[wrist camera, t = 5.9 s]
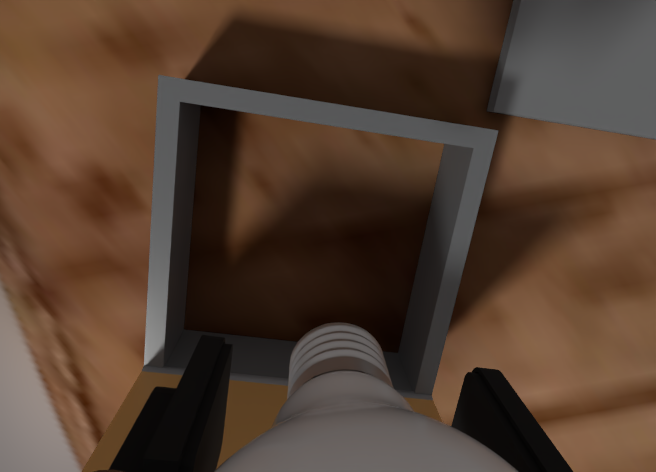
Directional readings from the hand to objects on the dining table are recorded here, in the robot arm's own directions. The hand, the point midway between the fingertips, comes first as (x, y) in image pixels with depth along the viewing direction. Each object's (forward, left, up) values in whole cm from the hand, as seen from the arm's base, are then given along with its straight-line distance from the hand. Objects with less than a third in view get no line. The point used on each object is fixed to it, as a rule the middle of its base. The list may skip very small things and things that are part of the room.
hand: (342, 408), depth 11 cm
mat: (-15, -14, -17) cm, 26 cm away
